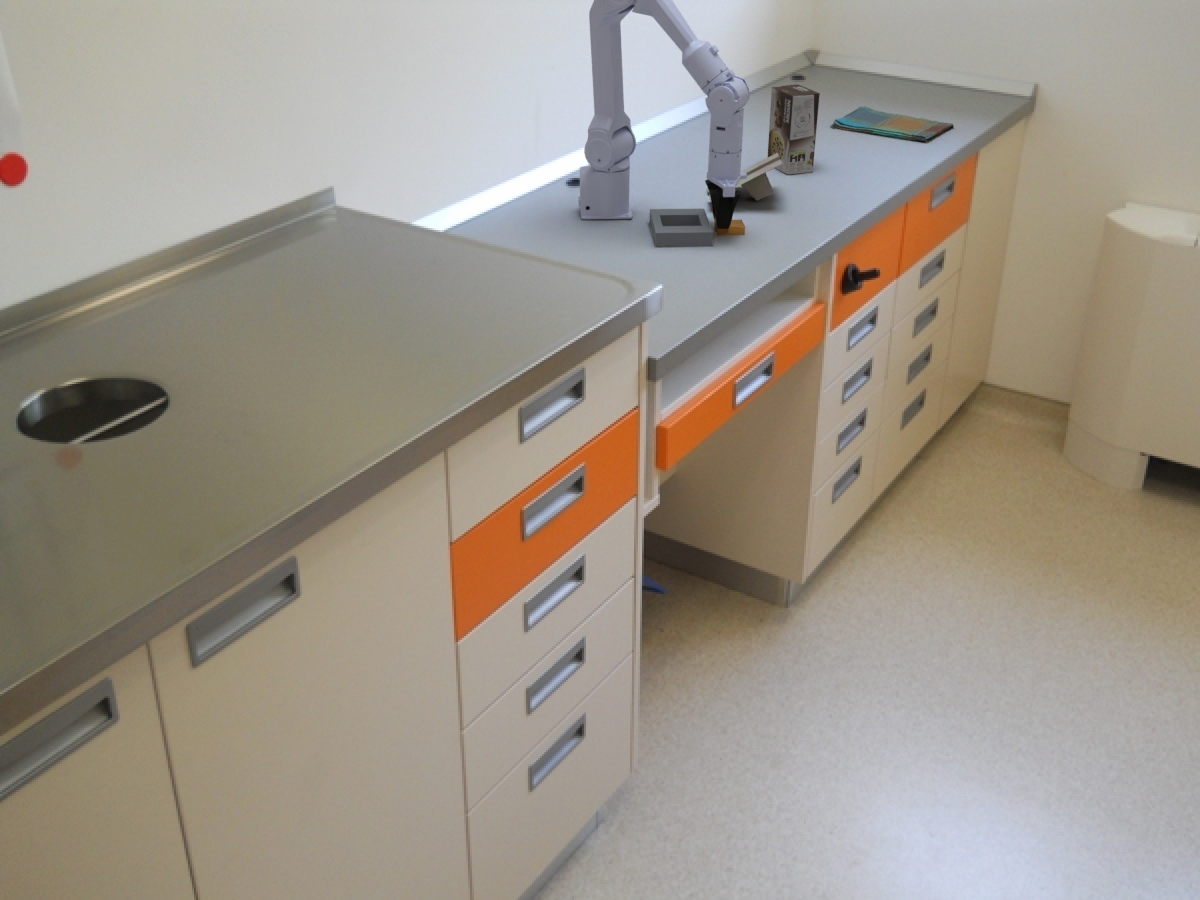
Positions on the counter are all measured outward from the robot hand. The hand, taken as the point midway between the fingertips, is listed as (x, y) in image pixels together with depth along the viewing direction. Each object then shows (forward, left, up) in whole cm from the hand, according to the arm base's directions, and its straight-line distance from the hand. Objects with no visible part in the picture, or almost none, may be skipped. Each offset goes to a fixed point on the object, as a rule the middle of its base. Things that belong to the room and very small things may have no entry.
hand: (721, 223), depth 229 cm
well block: (-8, -1, -1) cm, 8 cm away
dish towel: (+49, +70, -2) cm, 85 cm away
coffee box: (+19, +39, -2) cm, 44 cm away
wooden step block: (+1, 0, -1) cm, 2 cm away
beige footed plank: (+6, +18, -2) cm, 20 cm away
